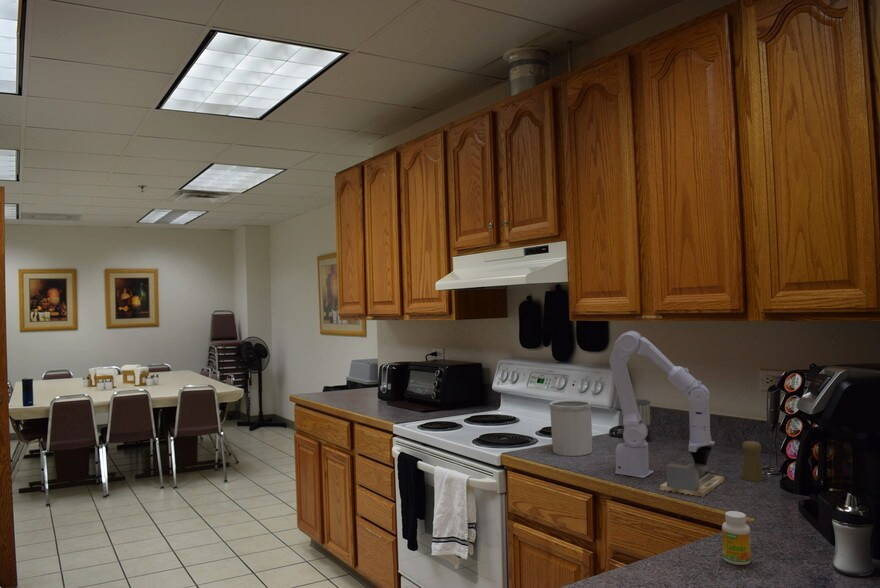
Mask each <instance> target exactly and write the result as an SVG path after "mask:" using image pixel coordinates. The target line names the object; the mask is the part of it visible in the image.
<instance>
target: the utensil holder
mask: <svg viewBox="0 0 880 588" xmlns="http://www.w3.org/2000/svg"><path fill="white" fill-rule="evenodd" d="M548 405H549V409H550V410H549V411H550V426H551V427H550V428H551V444H552V445H551V446H552V451H553V453H554V454H555V455H559V456H566V457H580V456H587V455H590V454H591V453H592V451H593V447H592V446H593V427H592V426H593V425H592V424H593V423H592V407H593V406H592V402H591V401H589V400H586V399H573V398H572V399H570V398H569V399H559V400H557V399H556V400H552V401H550V402H549V404H548Z"/></svg>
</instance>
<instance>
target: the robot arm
mask: <svg viewBox="0 0 880 588" xmlns="http://www.w3.org/2000/svg"><path fill="white" fill-rule="evenodd" d="M635 352H636V354H637V355H639V356H645V357H648V358H649V359H650V360H651V361H652V362H654V363H655V364H656V366H658V367H659V368H660V369H662V370H663V371H664V372H665V373H666V374H667V380H668V381H669V382H670V383H671V384H672V385H673V386H674V387H675V388H676V389H677V390H679V392H681V393H682V395H684V396H687V400H688V403H689V410H688V416H689V417H688V418H689V440H688V443H689V444H688V452H689V453H690V455H691V457H692V458H693V463H697V464H704V465H708V459H709V457H710V454H711V452H712V449H713V448H712V446H713V445H715V441H713V440H712V436H711V415H710V414H711V413H710V404H709V402H710V390H709V389H708V388H707V386H706V385H705V384H702V381H701V380H697V379H696V378H695V377H694V376H693V375H692V374H691V373H689V372H690V371H689V368H687V367H685V368H684V367H683V366H679V365H674V363H672V362H671V360H669V358H667V356H665V355H664V354H663V353H662V351H660V350H659V349H658V347H656V346H655V345H654V344H653V343H652V342H650V340H649V339H647V338H646V337H645V336H642V335H641V333H640V332H637V330H636V331H635V330H627V331H626V332H624V333H622V334H621V335H619V336H618V338H617V339H616V340H615V342H614V345H613V348H612V351H611V353H610V356H609V361H608V362H609V365H610V370H611V373H612V377H613V382H614V386H615V389H616V393H617V397H618V401H619V405H620V408H621V413H622V425H623V426H624V429H623V433H622V434H623V438H622V439H623V441H624V442H620V443H618V444H617V445H616V448H615V472H614V474H616V475H617V474H618V475H621V476H622V475H624V476H629V477H630V476H631V477H635V478H641V479H645V478H646V477H648V476H650V475H652V474H653V473H655V472H654V470H652V469H649V468H650V466H649V442H646V440H645V438H646V436H647V434H648V429H647V426H646V425H645V424H644V423H643V421H642V418H641V415H640V413H639V411H638V407H637V404H636V400H635V399H636V396H635V393H634V388H633V384H632V381H631V377H630V372H629V369H628V363H627V362H628V361H629V359H630V358H631V357H632V355H633V354H634V353H635Z"/></svg>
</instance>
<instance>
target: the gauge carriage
mask: <svg viewBox="0 0 880 588" xmlns="http://www.w3.org/2000/svg"><path fill="white" fill-rule="evenodd" d="M685 466H692V467H699V480H700V479H701V478H702V477H704V476H705V475H707V474H708V473H710V474H715V475H716V472H715V473H713V472H711V471H709V465H708V464H707V465H704V464H697V463H694V462H689V463H688V464H686V465H685Z"/></svg>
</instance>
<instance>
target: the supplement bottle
mask: <svg viewBox="0 0 880 588" xmlns="http://www.w3.org/2000/svg"><path fill="white" fill-rule="evenodd" d="M724 515H725V517H724V520H725V522H723V524H722V525H721V526H722V527H721V539H722V559H723V560H724V561H725V562H726V563H728V564H731V565H739V566H743V565H744V566H745V565H748V564H750V563H751V560H752V559H751V558H752V556H751V528H750V526H749V525H748V524H746V523H747V514H745V513H743V512H742V511H741V512H740V511H737V510H729V511H726V512H725V514H724Z"/></svg>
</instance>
